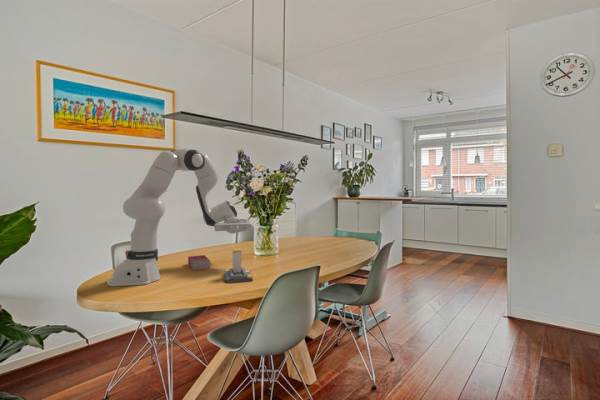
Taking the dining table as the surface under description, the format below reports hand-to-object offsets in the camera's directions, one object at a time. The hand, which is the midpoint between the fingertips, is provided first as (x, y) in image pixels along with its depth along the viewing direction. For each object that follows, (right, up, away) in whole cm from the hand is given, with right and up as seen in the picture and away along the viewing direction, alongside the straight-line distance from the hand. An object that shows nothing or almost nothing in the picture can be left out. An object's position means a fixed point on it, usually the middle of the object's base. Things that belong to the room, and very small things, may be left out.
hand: (234, 228), depth 186 cm
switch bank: (+4, -22, -15) cm, 27 cm away
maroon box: (-22, -22, +10) cm, 32 cm away
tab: (+3, -21, -11) cm, 23 cm away
